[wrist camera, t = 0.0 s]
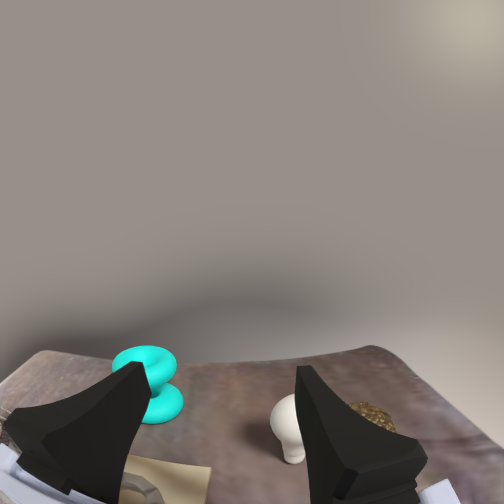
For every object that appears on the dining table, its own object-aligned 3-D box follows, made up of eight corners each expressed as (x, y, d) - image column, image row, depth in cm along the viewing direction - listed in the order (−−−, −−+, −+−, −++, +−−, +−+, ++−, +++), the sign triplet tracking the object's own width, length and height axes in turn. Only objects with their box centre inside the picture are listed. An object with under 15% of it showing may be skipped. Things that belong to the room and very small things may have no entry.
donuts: (176, 341, 41) (173, 374, 31) (184, 390, 42) (185, 427, 32) (118, 342, 39) (102, 373, 29) (130, 391, 40) (121, 426, 30)
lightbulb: (260, 467, 25) (259, 407, 23) (282, 439, 30) (286, 378, 28) (306, 483, 22) (318, 424, 20) (324, 450, 27) (336, 389, 25)
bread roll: (317, 471, 23) (323, 448, 23) (302, 413, 36) (305, 389, 35) (408, 449, 23) (419, 425, 23) (377, 401, 36) (383, 378, 35)
